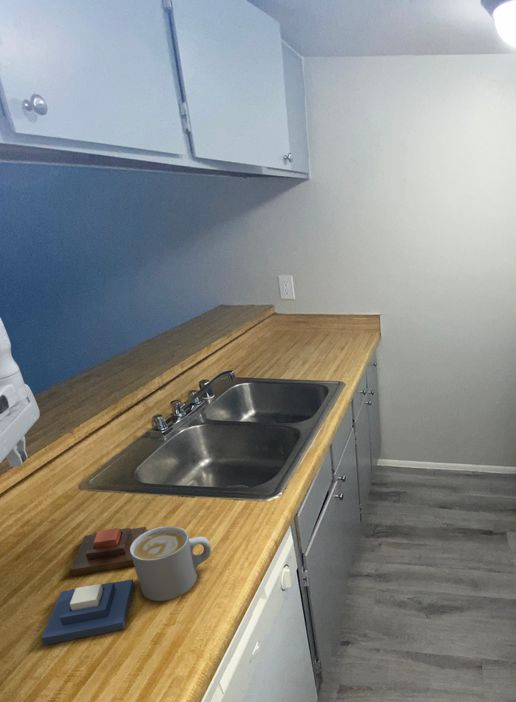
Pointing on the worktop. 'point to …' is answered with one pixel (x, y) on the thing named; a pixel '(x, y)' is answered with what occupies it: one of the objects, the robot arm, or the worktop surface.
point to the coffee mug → (167, 561)
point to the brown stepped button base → (105, 553)
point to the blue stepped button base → (90, 614)
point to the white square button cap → (86, 597)
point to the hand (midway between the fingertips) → (19, 462)
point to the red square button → (107, 538)
